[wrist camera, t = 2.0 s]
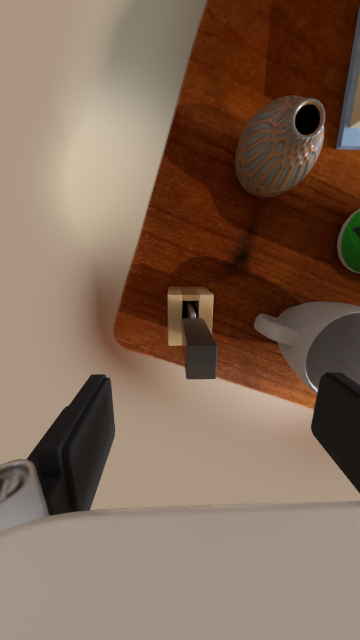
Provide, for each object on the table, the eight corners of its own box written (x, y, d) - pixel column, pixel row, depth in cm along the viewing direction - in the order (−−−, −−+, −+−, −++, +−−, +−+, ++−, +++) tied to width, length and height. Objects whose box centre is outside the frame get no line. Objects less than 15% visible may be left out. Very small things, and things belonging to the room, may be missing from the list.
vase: (292, 125, 23) (363, 46, 14) (291, 199, 25) (354, 169, 16) (225, 134, 23) (256, 61, 14) (230, 208, 25) (260, 182, 16)
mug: (341, 302, 28) (424, 324, 19) (311, 363, 30) (373, 411, 21) (252, 276, 27) (295, 285, 17) (228, 342, 29) (254, 382, 20)
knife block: (168, 286, 27) (167, 294, 21) (205, 286, 27) (213, 294, 21) (169, 327, 28) (168, 345, 22) (203, 327, 28) (211, 345, 22)
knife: (179, 295, 27) (187, 339, 13) (194, 295, 27) (218, 339, 13) (179, 319, 28) (186, 385, 13) (193, 319, 28) (215, 385, 13)
